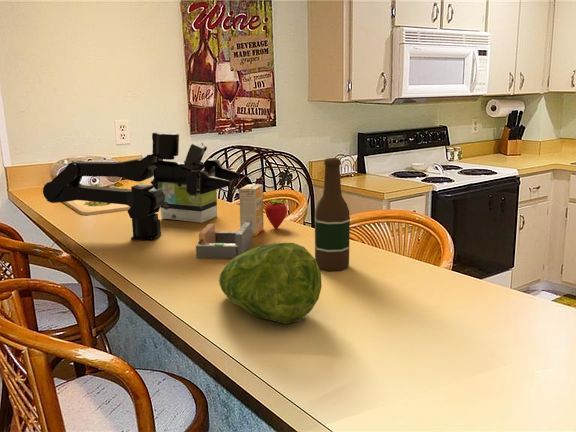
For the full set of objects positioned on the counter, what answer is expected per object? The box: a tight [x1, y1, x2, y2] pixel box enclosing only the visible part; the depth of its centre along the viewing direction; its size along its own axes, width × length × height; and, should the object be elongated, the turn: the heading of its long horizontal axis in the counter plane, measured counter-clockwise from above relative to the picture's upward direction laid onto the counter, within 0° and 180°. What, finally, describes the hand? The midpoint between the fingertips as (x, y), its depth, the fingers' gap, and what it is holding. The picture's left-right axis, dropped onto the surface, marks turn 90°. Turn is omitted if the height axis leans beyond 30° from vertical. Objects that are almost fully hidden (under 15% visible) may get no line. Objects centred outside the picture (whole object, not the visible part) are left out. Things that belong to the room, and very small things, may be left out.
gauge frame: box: [195, 221, 254, 260], centre depth 135 cm, size 11×14×6 cm
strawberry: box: [264, 194, 288, 230], centre depth 156 cm, size 6×8×10 cm
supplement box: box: [238, 183, 264, 237], centre depth 151 cm, size 8×5×13 cm, turn 168°
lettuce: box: [218, 242, 323, 325], centre depth 97 cm, size 14×23×13 cm, turn 38°
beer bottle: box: [314, 157, 351, 272], centre depth 119 cm, size 8×8×24 cm
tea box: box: [159, 182, 218, 224], centre depth 170 cm, size 15×10×15 cm
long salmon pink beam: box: [197, 223, 216, 244], centre depth 134 cm, size 2×12×5 cm, turn 173°
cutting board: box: [62, 183, 131, 216], centre depth 196 cm, size 35×23×8 cm
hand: (235, 179), depth 141 cm, fingers open, 9 cm apart
